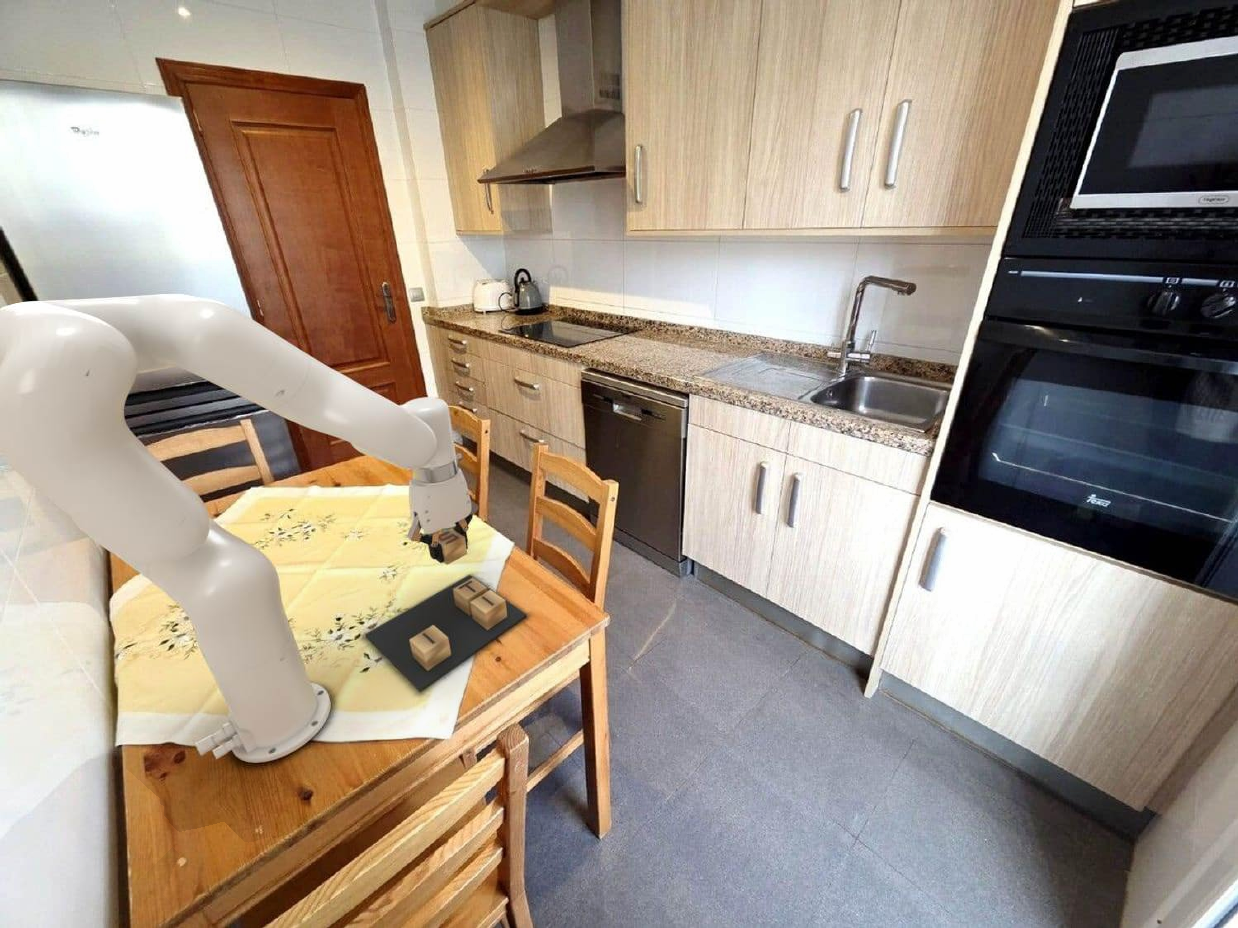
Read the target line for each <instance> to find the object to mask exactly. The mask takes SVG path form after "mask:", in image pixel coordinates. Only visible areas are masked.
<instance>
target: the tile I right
mask: <svg viewBox="0 0 1238 928" xmlns="http://www.w3.org/2000/svg"><path fill="white" fill-rule="evenodd" d="M491 590H492V589H491ZM491 590H489V591H487V592H486V593H484V594H483V595H481V596H479V597H478V598H476V599H475V600H473V601H471V602H470V603H471V610H472V617H473V619H474V620H475V621H476V622H478V623H479V624H480V625H482V626H483V627H484V628H485V629H487V630H489V629H490V628H492V627H493V626H494V625H496V624H497V623H499V622H500V621H502V620H503V619H505V618H506V617H507V610H506V601H507V600H506V599H505V598H503V597H502V596H501V597H502V598H501V597H500V594H498V593H496V592H495V591H493V590H492V591H491ZM494 592H495V593H494ZM497 594H498V595H497ZM504 599H505V600H506V601H505V600H504Z"/></svg>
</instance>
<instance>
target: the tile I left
mask: <svg viewBox="0 0 1238 928" xmlns="http://www.w3.org/2000/svg"><path fill="white" fill-rule="evenodd" d="M409 641H410V645H411V650H412V654H413V657H414V658H415V659H416V660H417V661H418V662H419V663H420V664H421V665H422V666H423V667H424V668H425V669H426V670H427V671H428V670H430V669H431V668H433V667H434V666H436V665H437V664H439V663H440V662H442V661H443V660H444V659H446V658H447V657H449V656H450V655H451V650H450V645H449V639H448V637H447V636H446V635H445V634H443V633H442V632H441V631H440V630H439V629H438V628H436V627H435V626H434V625H432V626H431V627H429V628H427V629H426V630H424V631H423V632H421V633H419V634H418V635H416V636H415V637H413V638H411V639H410V640H409Z"/></svg>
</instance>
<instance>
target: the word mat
mask: <svg viewBox="0 0 1238 928" xmlns="http://www.w3.org/2000/svg"><path fill="white" fill-rule="evenodd" d="M471 578H474V579H475V580H477V581H478V582H480V583H481V584H483V583H482V582H481V581H479V580H478V579H476V578H475V577H473V576H472V575H470V574H469V575H466V576H465V577H463V578H462V579H460V580H458V581H456V582H455V583H453V584H450V585H449V586H447V587H446V588H444V589H442V590H440V591H439V592H437V593H435V594H433V595H432V596H429V597H428V598H426V599H424V600H422V601H421V602H419V603H417V604H415V605H414V606H412V607H411V608H408V609H406V610H405V611H403V612H402V613H400V614H398V615H397V616H394V617H393V618H392V619H389V620H388V621H386V622H384V623H383V624H381V625H379V626H378V627H376V628H374V629H372V630H370V631H368V632H367V633H365V637H366V638H367V640H369V641H370V642H371V643H372V644H373V646H375V648H376V649H378V650H379V651H380V653H382V655H384V657H385V658H386V659H387V660H388V661H389V662H390V663H391V664H393V666H394V667H395V668H396V669H397V670H398V671H399V672H400V673H401V674H402V675H403V676H404V677H405V678H406V679H407V680H408V681H409V682H410V683H411V684H412V685H413V686H414V687H415V688H416V689H417V690H418V691H419V692H420V693H421V692H422V691H424V690H425V689H426V688H428V687H430V686H431V685H432V684H433V683H434V684H435V682H437V681H438V680H439V679H441V678H442V677H444V676H445V675H446V674H448V673H450V672H451V671H452V670H454V669H455V668H457V667H458V666H459V665H461V664H462V663H463V662H465V661H466V660H467V659H469V658H471V657H472V656H474V655H475V654H476V653H477V652H479V651H480V650H482V649H484V648H485V647H486V646H488V645H489V644H490V643H492V642H493V641H495V640H496V639H497V638H499V637H500V636H502V635H504V634H505V633H506V632H507V631H508V630H511V628H513V627H514V626H516V625H517V624H519V623H521V622H522V621H523V620H524V619H526V618H527V616H528V615H527V614H526V613H525V612H524V611H522V610H521V609H519V608H518V607H517V606H515V605H514V604H512V603H511V602H510V601H507V600H506V599H505V598H503V597H502V596H500V595H499V594H498V593H496V592H495V591H493V590H492V589H491V588H489V587H488V586H487V585H485V584H483V585H484V586H485V587H487V591H489V590H491V591H493V592H494V593H496V594H497V595H499V596H500V597H501V598H503V599H504V600H505V601H506V610H507V617H506V618H505V619H503V620H502V621H500V622H499V623H497V624H496V625H494V626H493V627H492V628H490V629H489V630H487V629H485V628H484V627H483V626H482V625H480V624H479V623H478V622H476V621H475V620H474V619H473V617H472V615H470V616H469V615H468V614H466V613H465V612H464V611H462V610H461V609H460V608H459V607H457V606H456V604H455V598H454V592H453V589H454V588H456V587H457V586H459V585H461V584H463V583H464V582H466V581H468V580H470V579H471ZM432 625H434V626H435V627H436V628H438V629H439V630H440V631H441V632H442V633H443V634H445V635H446V636H447V637H448V639H449V645H450V650H451V655H450V656H449V657H447V658H446V659H444V660H443V661H442V662H440V663H439V664H437V665H436V666H434V667H433V668H431V669H430V670H428V671H427V670H426V669H425V668H424V667H423V666H422V665H421V664H420V663H419V662H418V661H417V660H416V659H415V658H414V657H413V654H412V650H411V645H410V641H409V640H410V639H411V638H413V637H415V636H416V635H418V634H419V633H421V632H423V631H424V630H426V629H427V628H429V627H431V626H432Z"/></svg>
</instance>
